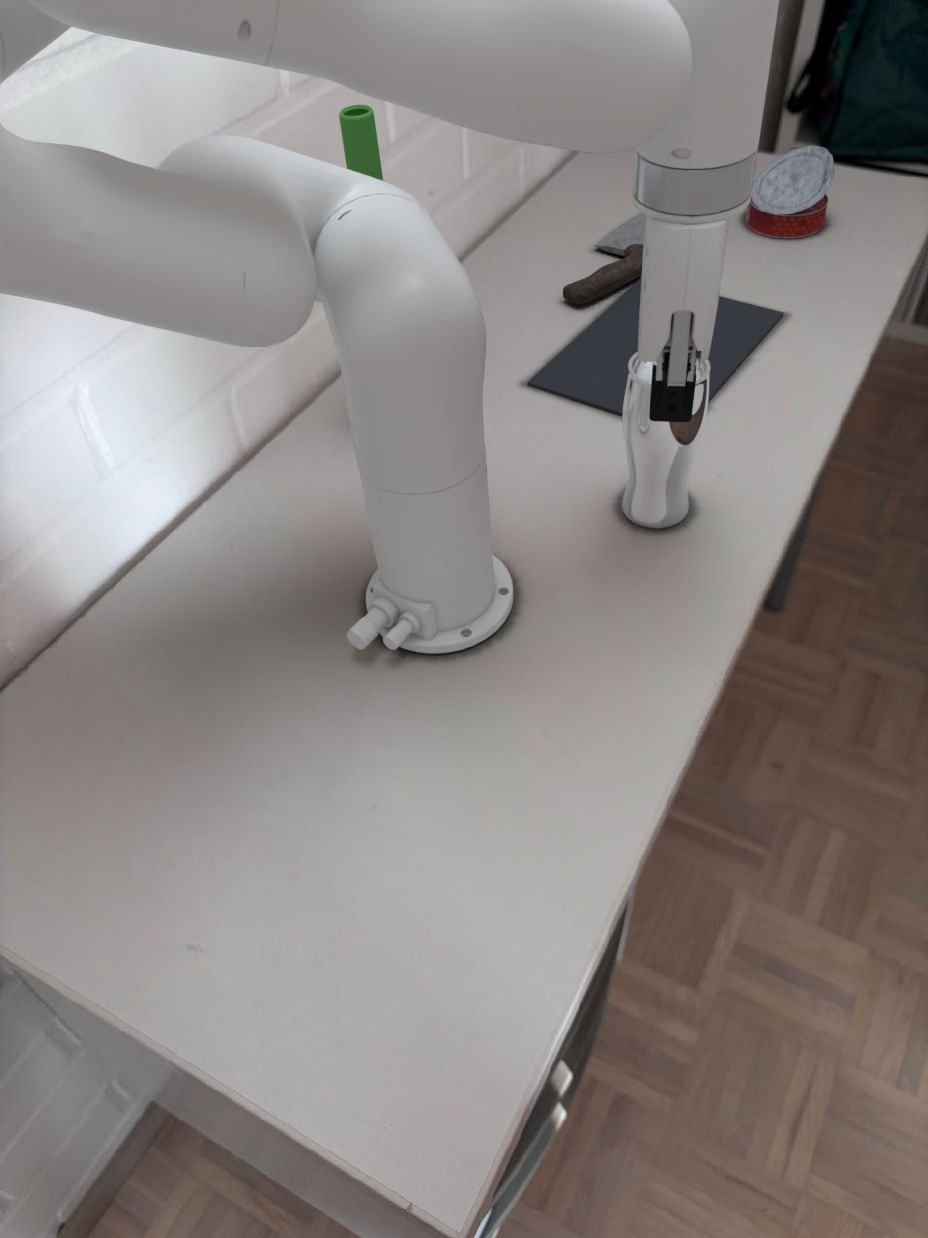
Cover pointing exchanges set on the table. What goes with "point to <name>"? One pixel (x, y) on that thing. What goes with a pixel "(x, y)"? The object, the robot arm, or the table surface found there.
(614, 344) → the mat
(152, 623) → the table surface
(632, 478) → the beer glass
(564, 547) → the table surface
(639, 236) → the cleaver
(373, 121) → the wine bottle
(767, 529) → the table surface
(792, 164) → the canned food
